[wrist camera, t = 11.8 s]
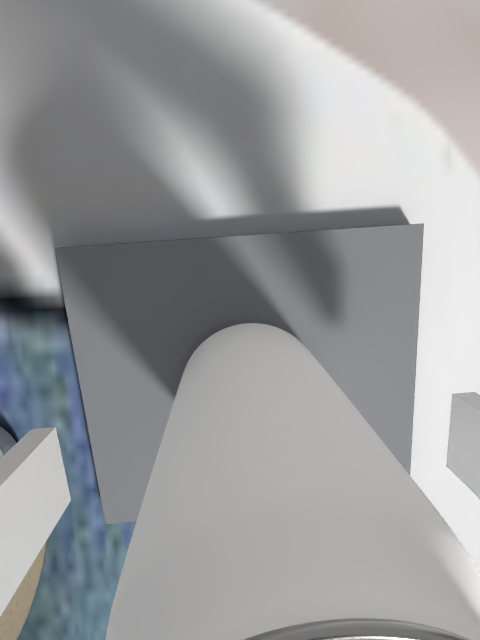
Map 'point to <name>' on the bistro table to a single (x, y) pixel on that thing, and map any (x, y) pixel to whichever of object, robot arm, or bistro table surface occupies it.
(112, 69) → the bistro table surface
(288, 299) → the mat
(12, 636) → the ceramic mug
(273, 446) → the can
